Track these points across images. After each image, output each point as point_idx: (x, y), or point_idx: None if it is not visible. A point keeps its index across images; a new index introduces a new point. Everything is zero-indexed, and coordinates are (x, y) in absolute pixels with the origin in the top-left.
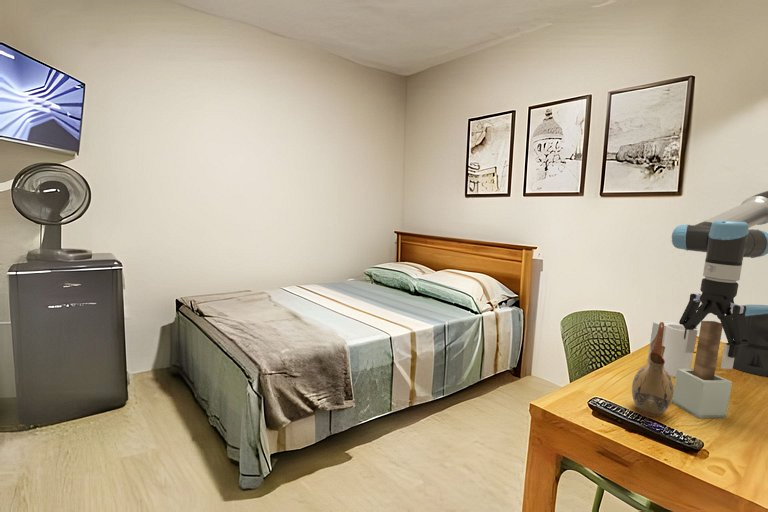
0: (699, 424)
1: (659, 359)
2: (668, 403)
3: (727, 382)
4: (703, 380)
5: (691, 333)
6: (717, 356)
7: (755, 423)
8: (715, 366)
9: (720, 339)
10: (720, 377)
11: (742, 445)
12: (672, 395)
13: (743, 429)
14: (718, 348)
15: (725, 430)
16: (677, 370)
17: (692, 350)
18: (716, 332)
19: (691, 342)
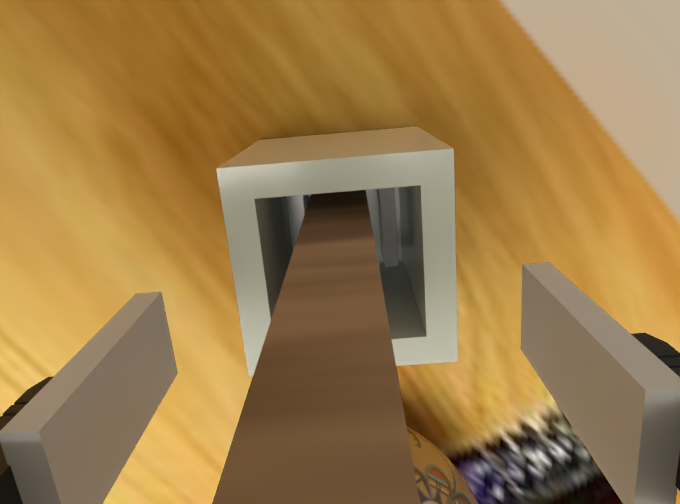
0: (472, 309)
1: None
2: (474, 496)
3: (453, 188)
4: (431, 345)
5: (87, 480)
6: (379, 273)
7: (471, 4)
8: (373, 243)
9: (395, 363)
10: (373, 169)
11: (632, 262)
12: (463, 494)
13: (521, 135)
14: (386, 312)
15: (523, 233)
16: (254, 371)
17: (156, 318)
18: None
19: (133, 389)
